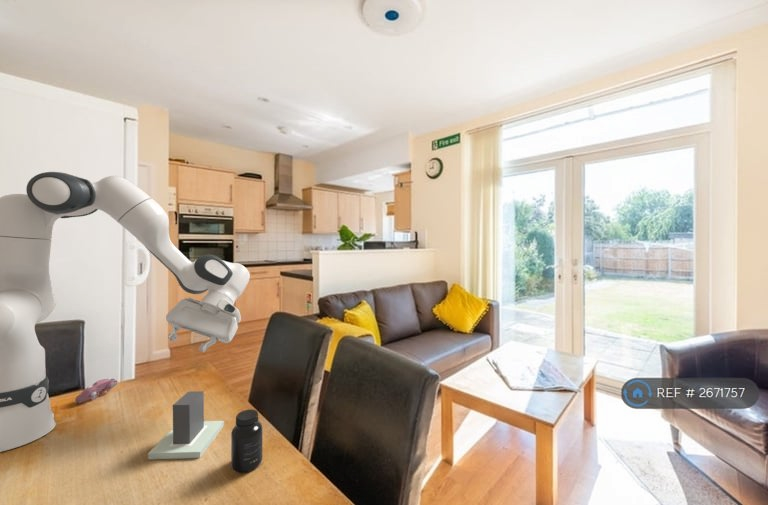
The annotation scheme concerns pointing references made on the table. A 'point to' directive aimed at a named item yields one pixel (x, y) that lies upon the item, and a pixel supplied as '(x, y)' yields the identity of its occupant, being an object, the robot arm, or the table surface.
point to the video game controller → (96, 390)
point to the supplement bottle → (246, 442)
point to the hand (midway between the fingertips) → (186, 345)
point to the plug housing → (188, 417)
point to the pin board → (192, 450)
